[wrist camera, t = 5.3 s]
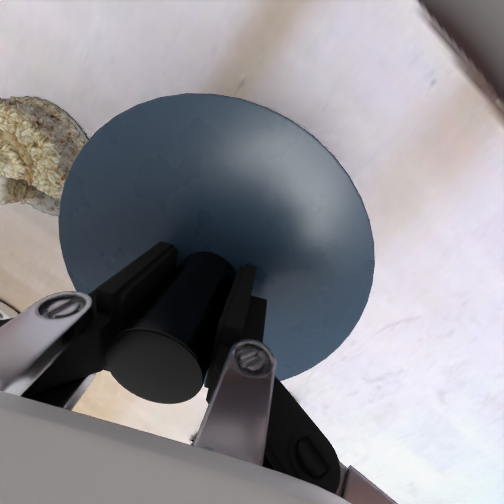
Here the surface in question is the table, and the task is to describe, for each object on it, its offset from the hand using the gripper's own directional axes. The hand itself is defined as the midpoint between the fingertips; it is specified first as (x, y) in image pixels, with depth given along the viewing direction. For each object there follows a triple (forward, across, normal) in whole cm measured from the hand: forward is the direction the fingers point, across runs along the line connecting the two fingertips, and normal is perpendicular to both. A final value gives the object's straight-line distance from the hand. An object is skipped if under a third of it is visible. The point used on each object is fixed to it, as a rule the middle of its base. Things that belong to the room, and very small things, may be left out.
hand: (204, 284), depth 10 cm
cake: (+12, +18, 0) cm, 22 cm away
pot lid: (+1, 0, 0) cm, 1 cm away
